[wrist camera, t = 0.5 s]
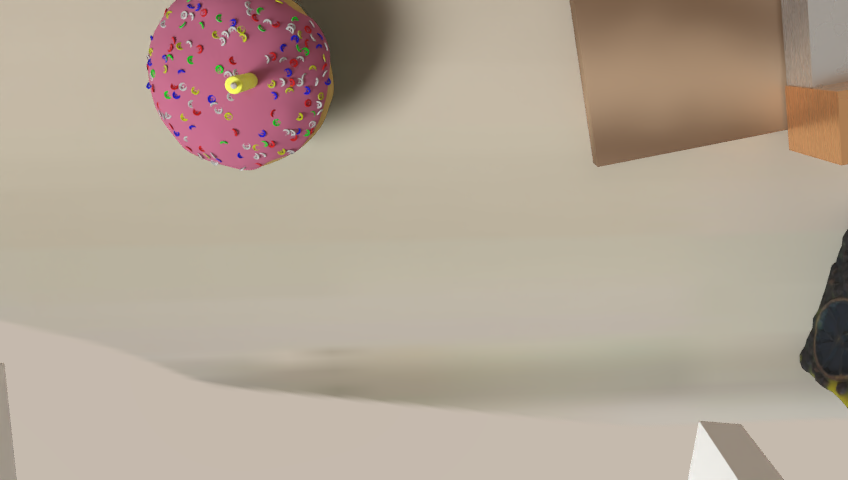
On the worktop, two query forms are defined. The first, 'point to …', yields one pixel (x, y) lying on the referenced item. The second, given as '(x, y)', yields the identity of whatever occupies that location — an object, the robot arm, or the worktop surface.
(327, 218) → the worktop surface
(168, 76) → the cupcake
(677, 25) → the base board
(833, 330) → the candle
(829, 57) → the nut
